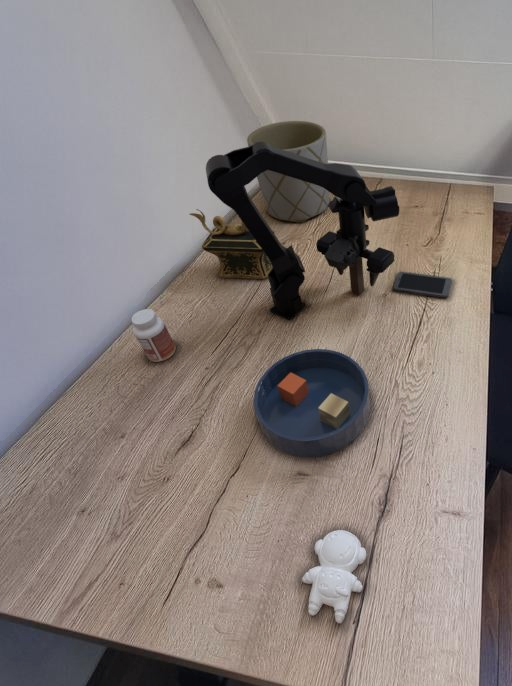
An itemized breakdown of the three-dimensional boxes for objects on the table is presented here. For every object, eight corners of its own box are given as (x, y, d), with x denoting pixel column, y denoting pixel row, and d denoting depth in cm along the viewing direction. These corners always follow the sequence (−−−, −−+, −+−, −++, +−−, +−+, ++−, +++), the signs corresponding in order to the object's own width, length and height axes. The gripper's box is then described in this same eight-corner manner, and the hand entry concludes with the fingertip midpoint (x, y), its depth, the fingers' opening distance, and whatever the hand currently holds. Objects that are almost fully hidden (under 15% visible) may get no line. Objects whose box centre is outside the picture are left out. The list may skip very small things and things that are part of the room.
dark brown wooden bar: (351, 292, 114) (347, 256, 106) (356, 287, 115) (353, 251, 108) (359, 295, 113) (356, 259, 105) (364, 290, 114) (362, 254, 107)
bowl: (236, 423, 87) (229, 406, 83) (306, 353, 99) (303, 335, 96) (325, 479, 77) (321, 462, 74) (390, 393, 90) (390, 375, 86)
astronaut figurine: (291, 609, 63) (288, 602, 61) (323, 526, 71) (321, 517, 69) (351, 630, 61) (349, 624, 59) (376, 542, 69) (375, 534, 67)
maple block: (320, 420, 85) (318, 407, 83) (333, 405, 88) (331, 392, 85) (337, 430, 84) (335, 417, 81) (350, 414, 86) (348, 401, 83)
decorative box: (281, 260, 126) (267, 194, 112) (272, 281, 119) (256, 214, 105) (213, 257, 128) (191, 193, 115) (200, 278, 121) (175, 212, 108)
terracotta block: (280, 398, 90) (277, 385, 87) (293, 384, 92) (290, 372, 89) (296, 407, 88) (292, 394, 85) (309, 393, 90) (306, 380, 88)
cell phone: (447, 298, 110) (448, 296, 110) (392, 290, 113) (392, 288, 113) (452, 280, 115) (452, 278, 115) (398, 273, 119) (398, 271, 118)
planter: (304, 233, 136) (292, 156, 120) (248, 215, 145) (230, 142, 129) (347, 200, 149) (341, 127, 133) (293, 185, 159) (281, 116, 143)
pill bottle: (175, 339, 104) (158, 303, 97) (177, 358, 100) (159, 321, 92) (147, 347, 103) (127, 310, 95) (147, 366, 99) (126, 329, 91)
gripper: (297, 230, 100) (306, 285, 111) (367, 254, 92) (370, 311, 103) (327, 208, 107) (333, 262, 117) (395, 228, 99) (395, 284, 109)
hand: (356, 279), depth 112 cm, fingers open, 9 cm apart
